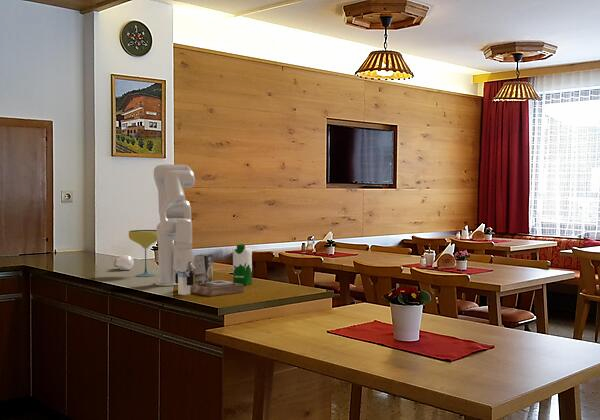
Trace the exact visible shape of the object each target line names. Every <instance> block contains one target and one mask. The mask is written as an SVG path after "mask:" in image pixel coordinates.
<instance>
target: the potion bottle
mask: <svg viewBox="0 0 600 420" xmlns="http://www.w3.org/2000/svg"><path fill="white" fill-rule="evenodd" d="M134 262H135V261H134V258H133V257H132V256H131V255H129V254H122V255H121V256H119V257H118V258H116V259H114V265H113V266H114V267H116V268H117V267H118V268H117V269H119V268H120V269H119V270H122V271H123V270H125V271H130V270H132V269H133V267H134V265H135V264H134ZM129 269H130V270H129Z"/></svg>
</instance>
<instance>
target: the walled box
mask: <svg viewBox="0 0 600 420" xmlns="http://www.w3.org/2000/svg"><path fill="white" fill-rule="evenodd" d="M244 287H245V286H244V285H243V284H237V283H233V286H226V287H217V288H207V287H206V283H204V284H195V283H194V284H193V285H190V291H191V293H193V294H198V295H203V296H207V297H216V296H217V295H218V296H224V295H225V294H226V295H232V294H238V293H239V294H240V293H244V292H245V288H244ZM218 296H217V297H218Z"/></svg>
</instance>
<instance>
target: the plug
mask: <svg viewBox="0 0 600 420" xmlns="http://www.w3.org/2000/svg"><path fill="white" fill-rule="evenodd" d="M189 273H190V272H189ZM177 291H178V292H177V293H178V295H181V296H187V295H191V293H192V292H191V285H187V273H186V271H185V272H178V285H177Z"/></svg>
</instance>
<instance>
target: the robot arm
mask: <svg viewBox="0 0 600 420" xmlns="http://www.w3.org/2000/svg"><path fill="white" fill-rule="evenodd" d="M153 179H154V182H155V186H156V188H157V199H158V214H159V223H158V224H157V225H156V229H155V230H156V232H157V238H158V241H157V247H158V249H157V250H158V276H157V275H156V278H157V279H158V281H156V282H155V285H156V286H159V287H160V286H162V287H163V286H164V287H168V286H169V287H171V286H178V272H185V271H186V273H187V285H190V286H191V285H194V277H195V269H196V267H195V264H194V256H193V255H194V253H193V222H192V206H191V204H190V201H188V200H187V199H186V196H185V195H186V194H185V188H186V189H187V188H188V189H189V188H190V189H191V188H193V187H194V186H195V183H196V178H195V173H194V171H193V170H192V168H191V167H190V166H188V165H187V164H158V165H156V166H155V167H154V169H153ZM173 241H175V243H174V242H173ZM189 272H190V273H189Z"/></svg>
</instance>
